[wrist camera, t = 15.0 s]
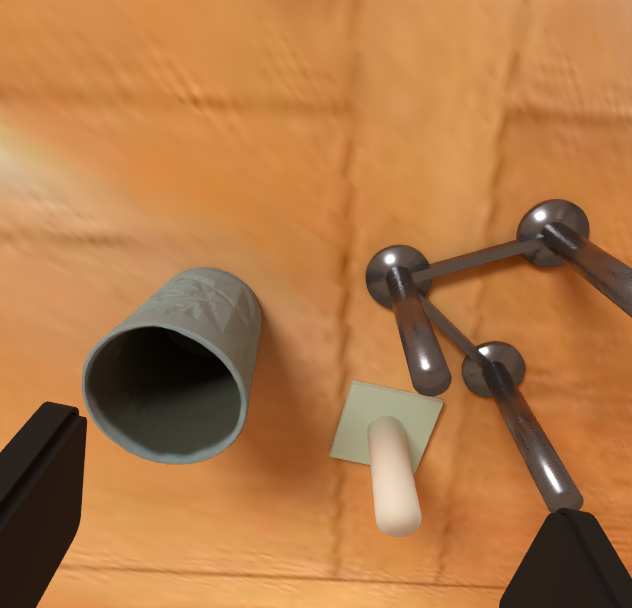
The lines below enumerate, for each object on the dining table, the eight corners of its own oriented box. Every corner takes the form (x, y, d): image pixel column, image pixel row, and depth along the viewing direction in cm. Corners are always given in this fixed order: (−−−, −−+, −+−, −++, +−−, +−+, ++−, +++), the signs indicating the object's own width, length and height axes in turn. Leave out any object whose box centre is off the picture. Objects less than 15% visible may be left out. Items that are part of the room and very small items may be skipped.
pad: (442, 399, 45) (443, 403, 45) (413, 469, 48) (414, 474, 48) (352, 379, 45) (352, 383, 44) (329, 452, 48) (329, 456, 47)
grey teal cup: (273, 368, 44) (254, 465, 33) (155, 370, 45) (98, 467, 34) (263, 254, 40) (238, 322, 29) (134, 257, 41) (61, 326, 30)
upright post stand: (597, 208, 38) (747, 285, 24) (509, 398, 45) (587, 542, 31) (398, 158, 37) (438, 210, 23) (339, 361, 44) (343, 493, 30)
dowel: (408, 419, 45) (428, 508, 36) (397, 448, 47) (413, 540, 37) (372, 412, 45) (383, 499, 36) (362, 441, 46) (370, 532, 37)
